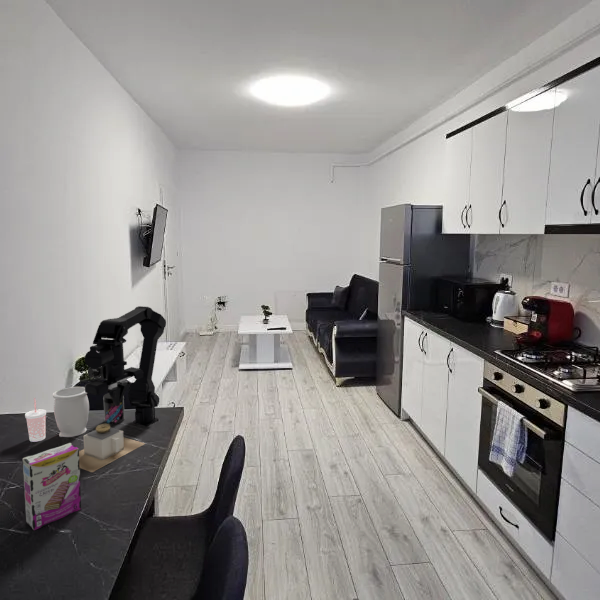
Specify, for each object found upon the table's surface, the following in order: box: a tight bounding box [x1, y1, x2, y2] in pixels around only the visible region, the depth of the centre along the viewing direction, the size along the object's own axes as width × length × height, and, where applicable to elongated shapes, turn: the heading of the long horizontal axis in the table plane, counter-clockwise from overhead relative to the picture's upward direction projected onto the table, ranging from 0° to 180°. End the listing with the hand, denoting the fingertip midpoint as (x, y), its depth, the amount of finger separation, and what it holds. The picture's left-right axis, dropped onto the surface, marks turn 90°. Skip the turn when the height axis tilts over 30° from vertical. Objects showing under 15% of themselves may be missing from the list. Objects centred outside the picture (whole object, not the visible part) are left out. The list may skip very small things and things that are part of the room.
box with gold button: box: [82, 426, 124, 460], centre depth 138 cm, size 8×10×7 cm
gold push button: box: [95, 423, 111, 433], centre depth 139 cm, size 5×5×7 cm
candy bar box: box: [22, 442, 82, 531], centre depth 108 cm, size 11×5×16 cm, turn 141°
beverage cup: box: [24, 397, 47, 443], centre depth 148 cm, size 6×6×14 cm
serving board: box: [79, 436, 146, 473], centre depth 139 cm, size 20×14×1 cm
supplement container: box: [102, 392, 125, 426], centre depth 162 cm, size 7×7×10 cm
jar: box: [52, 386, 90, 438], centre depth 152 cm, size 11×10×15 cm
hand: (117, 405), depth 146 cm, fingers closed
